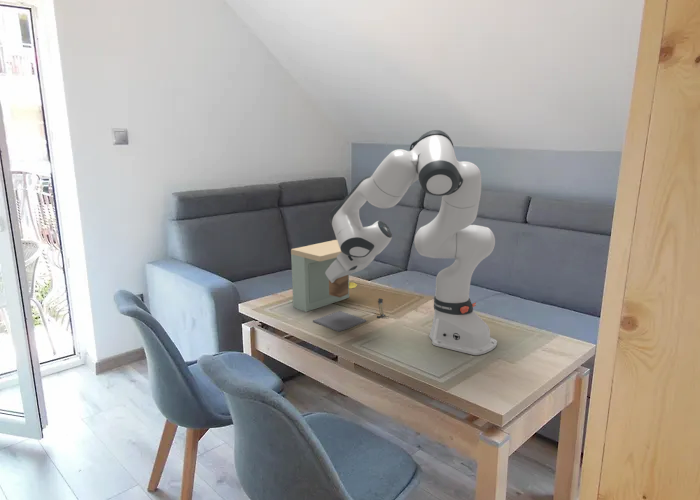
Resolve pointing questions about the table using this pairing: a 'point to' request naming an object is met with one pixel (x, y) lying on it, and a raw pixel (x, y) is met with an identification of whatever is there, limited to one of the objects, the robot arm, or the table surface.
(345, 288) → the walnut block
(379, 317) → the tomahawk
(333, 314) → the mat
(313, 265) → the cabinet
